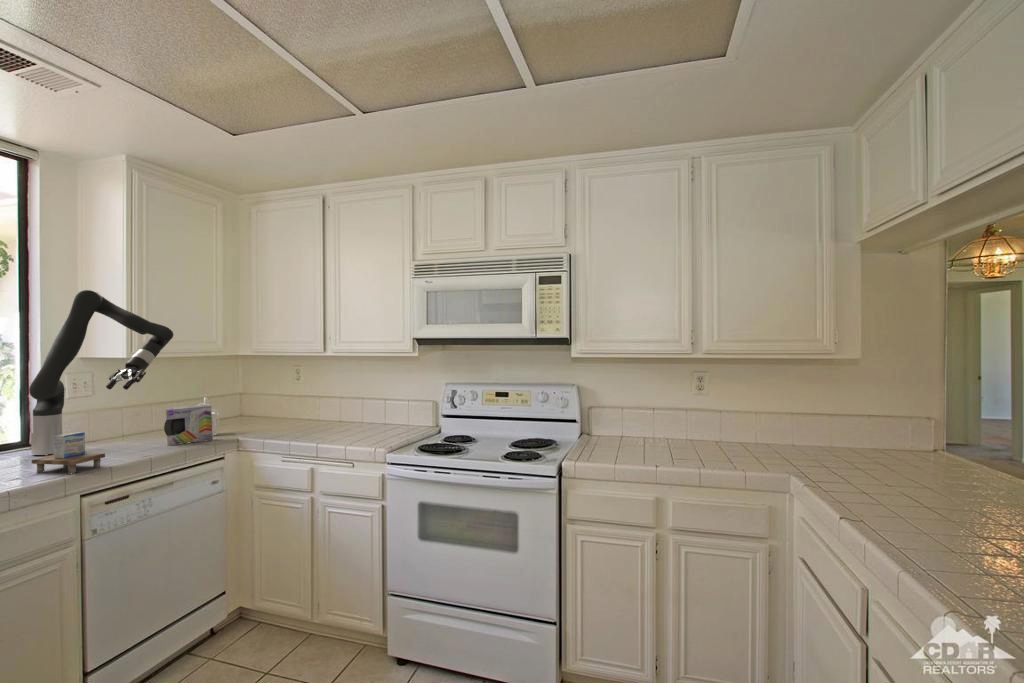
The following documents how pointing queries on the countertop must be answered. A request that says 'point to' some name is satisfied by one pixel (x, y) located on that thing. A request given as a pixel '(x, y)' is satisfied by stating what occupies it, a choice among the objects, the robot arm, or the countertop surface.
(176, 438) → the cake pan box
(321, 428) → the countertop surface
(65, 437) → the medicine box
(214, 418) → the white french press
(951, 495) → the countertop surface
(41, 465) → the walnut shelf
